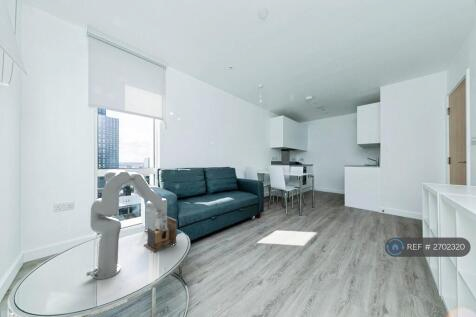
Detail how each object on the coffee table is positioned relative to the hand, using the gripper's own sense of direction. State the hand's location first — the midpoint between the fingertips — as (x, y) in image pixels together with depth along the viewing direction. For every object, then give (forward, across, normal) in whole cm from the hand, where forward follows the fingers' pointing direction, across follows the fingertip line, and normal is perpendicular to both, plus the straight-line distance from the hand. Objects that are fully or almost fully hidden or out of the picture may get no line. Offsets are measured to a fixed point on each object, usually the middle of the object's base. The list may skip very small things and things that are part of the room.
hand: (160, 236), depth 139 cm
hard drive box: (+7, +30, -10) cm, 32 cm away
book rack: (+6, 0, 0) cm, 6 cm away
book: (+5, 0, 0) cm, 5 cm away
